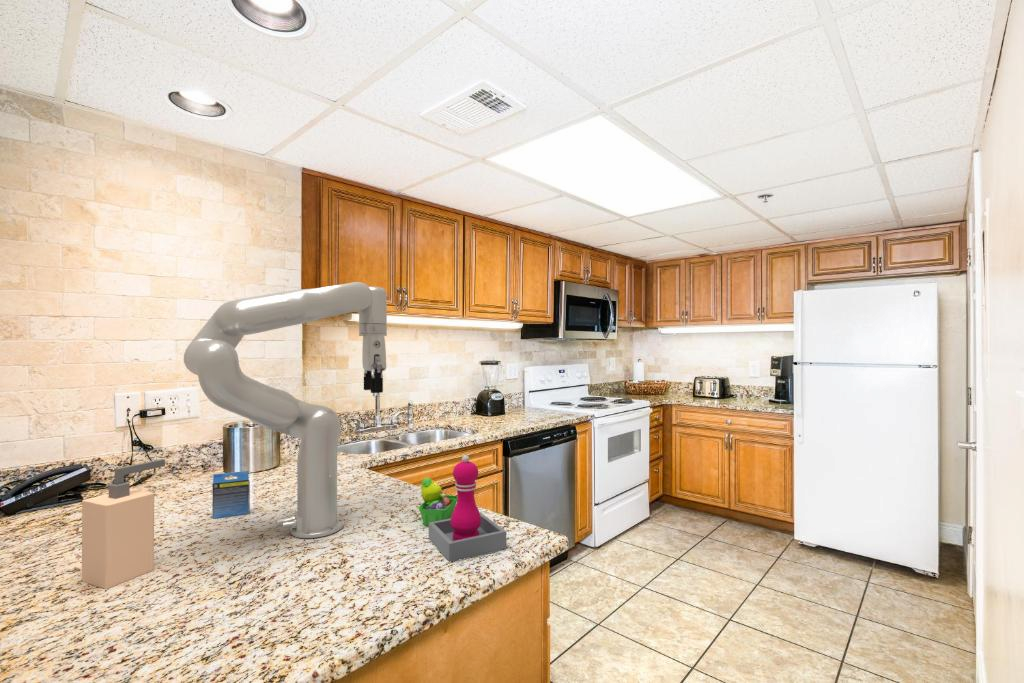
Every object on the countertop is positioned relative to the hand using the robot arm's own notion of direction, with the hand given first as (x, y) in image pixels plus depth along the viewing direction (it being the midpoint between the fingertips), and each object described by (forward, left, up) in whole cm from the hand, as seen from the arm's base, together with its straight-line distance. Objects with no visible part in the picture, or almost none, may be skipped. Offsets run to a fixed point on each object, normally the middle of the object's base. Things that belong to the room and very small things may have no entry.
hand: (373, 391), depth 132 cm
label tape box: (-35, +18, -35) cm, 52 cm away
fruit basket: (+14, -14, -35) cm, 40 cm away
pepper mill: (+15, -32, -34) cm, 49 cm away
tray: (+15, -32, -34) cm, 49 cm away
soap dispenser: (-52, -10, -34) cm, 63 cm away
